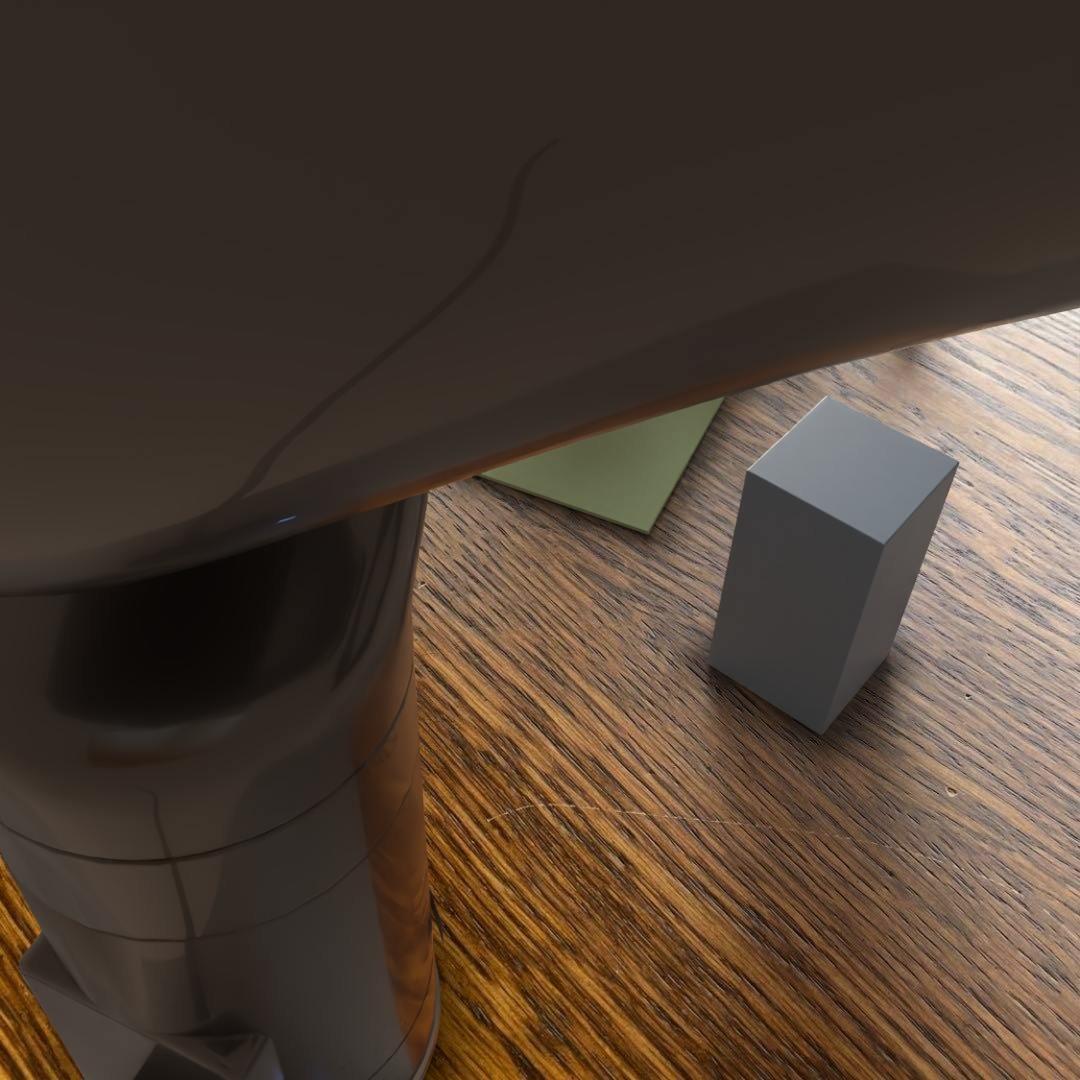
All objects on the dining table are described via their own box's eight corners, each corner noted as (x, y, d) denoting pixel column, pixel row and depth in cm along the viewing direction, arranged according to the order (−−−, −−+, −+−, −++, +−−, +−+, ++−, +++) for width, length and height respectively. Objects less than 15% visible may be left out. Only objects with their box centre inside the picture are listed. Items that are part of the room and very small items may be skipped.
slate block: (889, 653, 48) (960, 461, 41) (821, 736, 46) (884, 545, 38) (778, 588, 50) (826, 394, 43) (706, 663, 48) (746, 470, 40)
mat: (647, 534, 52) (648, 531, 52) (412, 453, 55) (412, 450, 55) (733, 382, 59) (734, 379, 59) (520, 317, 62) (520, 314, 62)
